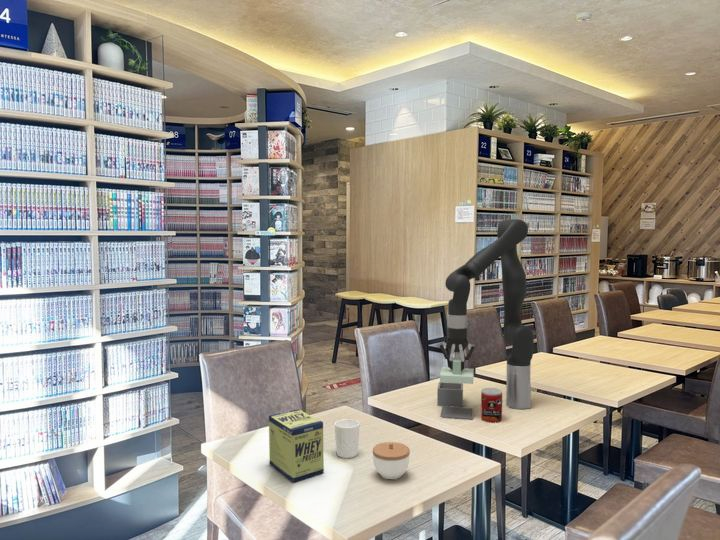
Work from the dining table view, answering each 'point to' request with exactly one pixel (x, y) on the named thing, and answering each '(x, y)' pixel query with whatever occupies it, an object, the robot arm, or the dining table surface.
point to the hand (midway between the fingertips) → (456, 370)
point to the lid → (456, 373)
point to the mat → (457, 413)
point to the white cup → (347, 438)
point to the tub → (450, 394)
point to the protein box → (296, 445)
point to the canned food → (491, 405)
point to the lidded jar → (391, 459)
